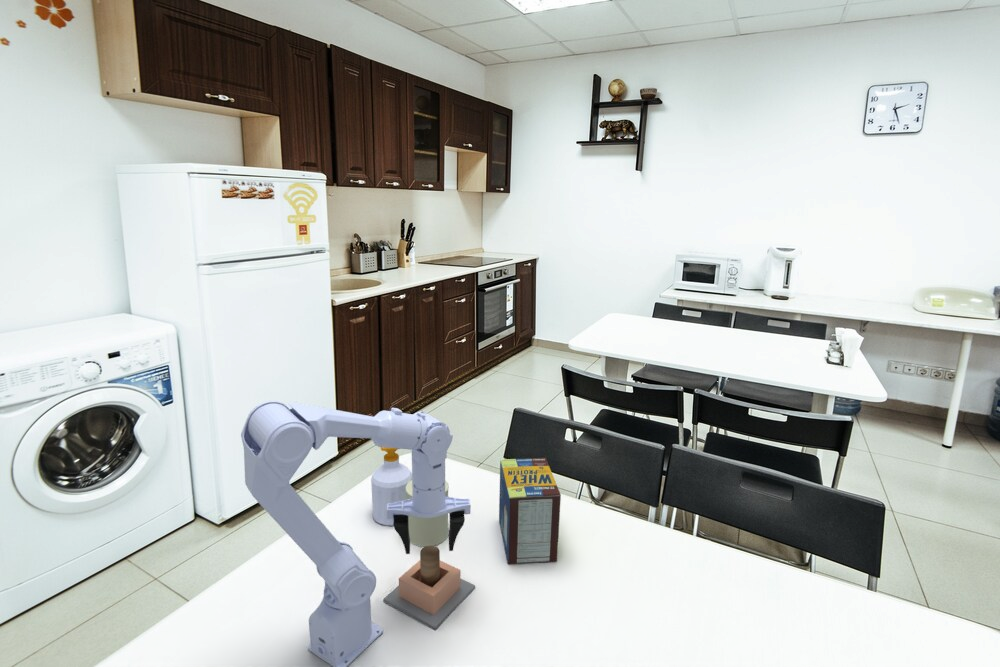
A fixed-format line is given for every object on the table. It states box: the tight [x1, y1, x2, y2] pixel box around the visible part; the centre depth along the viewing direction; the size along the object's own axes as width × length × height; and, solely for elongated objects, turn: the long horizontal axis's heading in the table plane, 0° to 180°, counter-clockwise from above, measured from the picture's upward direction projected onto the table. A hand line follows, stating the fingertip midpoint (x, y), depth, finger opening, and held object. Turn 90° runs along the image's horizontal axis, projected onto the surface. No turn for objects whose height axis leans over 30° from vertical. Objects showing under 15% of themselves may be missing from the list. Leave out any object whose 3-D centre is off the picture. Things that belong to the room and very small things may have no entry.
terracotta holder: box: [382, 560, 476, 631], centre depth 99 cm, size 12×12×4 cm
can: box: [405, 479, 450, 548], centre depth 115 cm, size 9×9×12 cm
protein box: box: [498, 457, 562, 565], centre depth 113 cm, size 10×15×16 cm
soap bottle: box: [370, 447, 412, 526], centre depth 120 cm, size 9×9×25 cm
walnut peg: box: [419, 545, 441, 587], centre depth 98 cm, size 4×4×8 cm
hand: (429, 549), depth 97 cm, fingers open, 7 cm apart
